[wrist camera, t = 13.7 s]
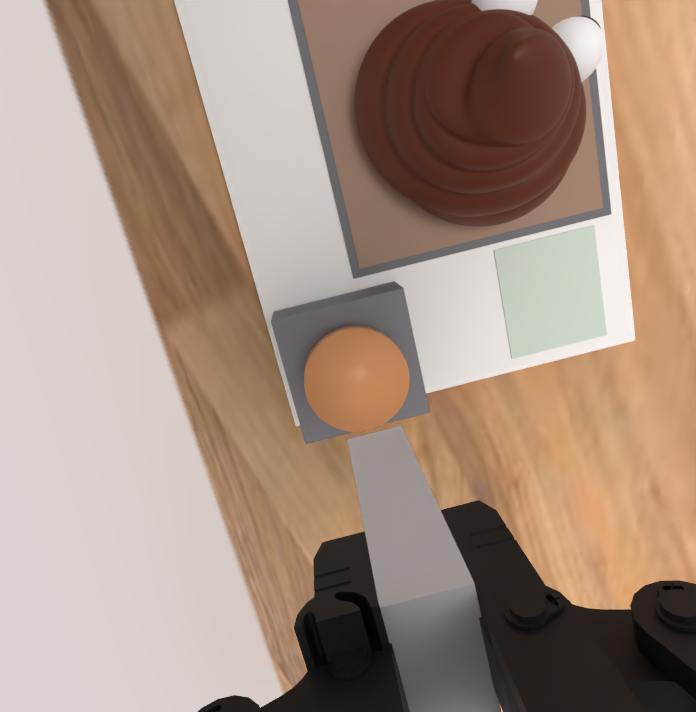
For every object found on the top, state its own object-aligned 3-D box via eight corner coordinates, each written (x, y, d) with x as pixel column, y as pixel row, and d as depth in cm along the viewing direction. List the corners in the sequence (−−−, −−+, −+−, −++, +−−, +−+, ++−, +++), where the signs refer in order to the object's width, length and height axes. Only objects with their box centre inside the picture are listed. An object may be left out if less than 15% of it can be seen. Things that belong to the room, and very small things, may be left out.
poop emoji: (315, 140, 24) (322, 96, 15) (423, -41, 23) (501, -209, 14) (491, 262, 26) (589, 286, 17) (601, 102, 25) (771, 37, 16)
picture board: (176, -1, 23) (155, -37, 20) (578, -98, 24) (623, -150, 20) (296, 419, 29) (294, 446, 25) (624, 336, 29) (666, 352, 26)
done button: (293, 328, 25) (292, 345, 22) (385, 305, 25) (397, 318, 22) (317, 414, 26) (318, 442, 23) (405, 392, 26) (419, 417, 23)
